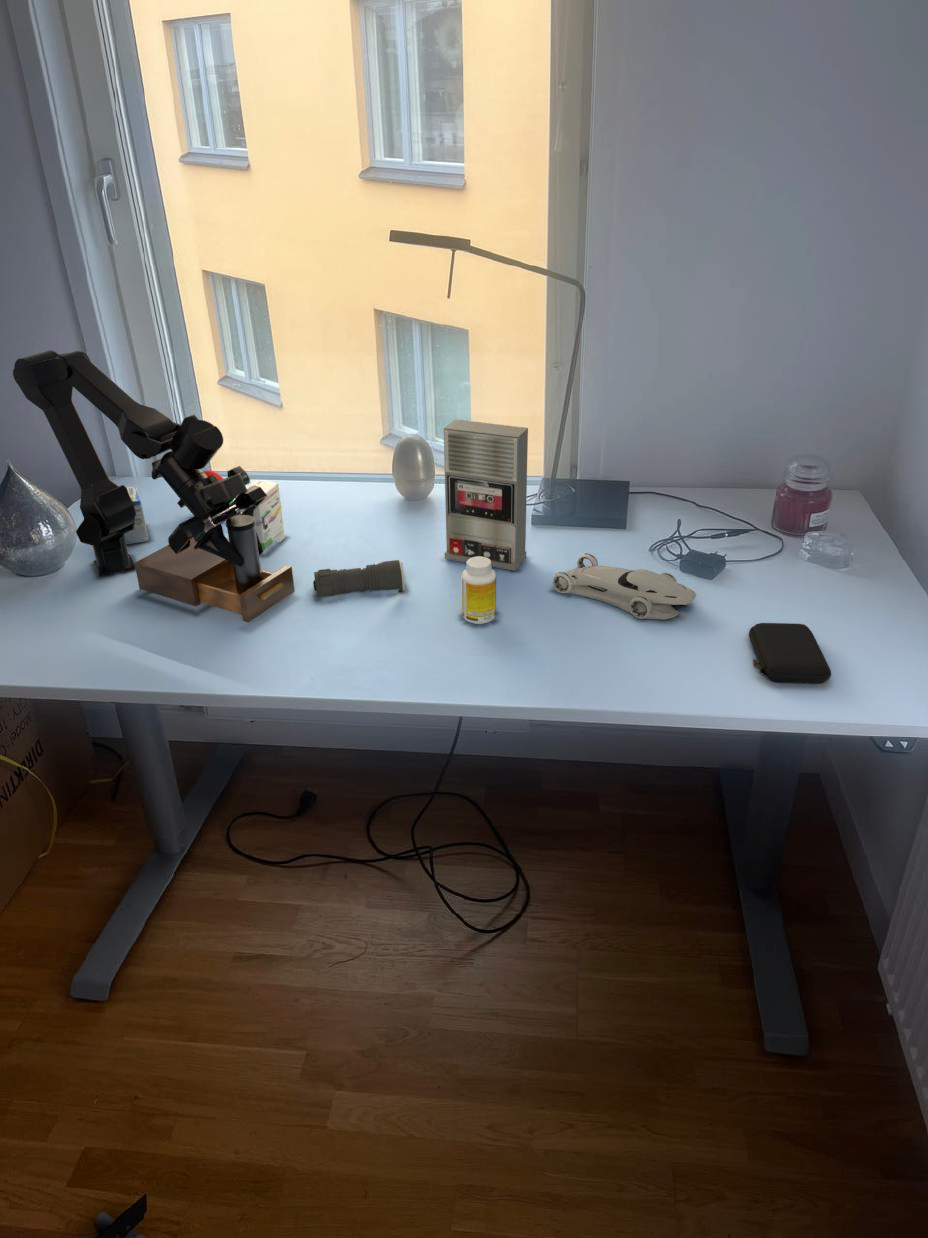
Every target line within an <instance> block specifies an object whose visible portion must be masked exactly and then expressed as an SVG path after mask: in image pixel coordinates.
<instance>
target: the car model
mask: <svg viewBox="0 0 928 1238" xmlns="http://www.w3.org/2000/svg"><path fill="white" fill-rule="evenodd" d="M585 560H588V561H590V563H591V565H587V566H586V565H585V564H584V561H585ZM598 561H599V560H598V559H597V557H596V556H595V555H594V554H592V553H589V552H586V553H583V554H580V556H579V557H578V559H577V562H576V563H577V567H576V568H575V569H572V570H570V571H569V572H567V571H559V572H557V573H555V575H553V577H552V587H553V588H554V590H556V592H558V593H561V594H569V595H575V596H580V597H584V598H589V599H592V600H596V601H599V602H603V603H606V604H609V605H612V606H614V607H617V608H619V609H621V610H623V611H625V612H626V613H628V614H630V615H632V616H634V618H636V619H640V620H647V619H648V620H662V621H667V620H672V619H673V618H675V617H677V616H679V615H680V612H679V611H678V610H676V607H688V606H689V605H690V603H692V602H694V600H696V597H697V593H696V592H695V590H693V589H691V588H690V587H687V586H686V585H683V584H681V583H678V581H677V578H676V577H675V576H674V575H673V574H672V573H668V572H663V573H660V574H659V573H657V572H654V571H652V570H648V569H643V568H640V569H634V570H632V569H628V568H624V567H615V566H608V565H599V562H598Z"/></svg>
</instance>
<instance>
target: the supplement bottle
mask: <svg viewBox="0 0 928 1238" xmlns="http://www.w3.org/2000/svg"><path fill="white" fill-rule="evenodd" d="M465 568H466V569H464V570H463V571H462V573H461V604H462V606H461V607H462V609H461V611H462V617H463V619H464V620H465V621H467V622H468V623H471V624H475V625H483V624H488V623H490V622H492V621H493V620H495V618H496V616H497V573H496V571H495V570H494V569H492V568H493V567H491V560H490V559H488V558H486V557H481V556H477V557H472V558H470V559H468V560H467V562H466V566H465Z"/></svg>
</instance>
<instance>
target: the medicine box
mask: <svg viewBox="0 0 928 1238" xmlns="http://www.w3.org/2000/svg"><path fill="white" fill-rule="evenodd" d="M126 488H127V490H128V493H129V496H130V498H131V499H132V501H133V502H134V504H135V506H134V508H135V511H136V516H135V522H134V530H132V531H129V532H127V533H125V534H124V536H125V540H126V545H133V544H139V543H145V542H148V541H149V534H148V528H147V525H146V519H145V514H144V507H143V503H142V501H141V498H140V495H139V491H138V488H137V487H136V486H129V487H126Z"/></svg>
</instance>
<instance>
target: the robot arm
mask: <svg viewBox="0 0 928 1238" xmlns="http://www.w3.org/2000/svg"><path fill="white" fill-rule="evenodd" d="M12 376H13V380H14V382H15V383H16V384H17V386H18V387H19V389H20V390H21V392H22V394H23V395H24V397H25V399H26V400H28V401H29V402H30V403H31V404H33V405H34V406H36V407H37V408H38V409H40V410H41V411H42V412H43V414H44V416H45V418H46V420H47V421H48V424H49V427H50V428H51V430H52V432H53V434H54V436H55V438H56V440H57V442H58V444H59V446H60V449H61V450H62V453H63V454H64V456H65V459H66V461H67V463H68V465H69V467H70V469H71V472H72V473H73V475H74V477H75V479H76V482H77V483H78V486H79V488H80V499H79V501H80V502H79V504H80V505H79V509H80V512H81V515H82V517H83V520H82V521H81V523H80V524H79V526H78V528H77V529H76V531H75V534H76V535H77V537H78V540H79V542H80V543H82V544H85V545H89V546H92V548H93V553H94V557H95V560H93V562H92V563H93V565H94V568H95V571H96V573H97V575H98V577H104V576H105V577H106V576H109V575H112V574H118V573H122V572H127V571H132V570H136V569H135V565H134V563H135V562H134V561H133V559H132V557H131V555H130V553H129V549H128V544H126V540H125V536H124V534H125V533H127V532H129V531H132V530H134V522H135V516H136V511H135V508H134V506H135V504H134V502H133V501H132V499H131V498H130V496H129V493H128V490H127V488H128V487H126V486H125V485H124V484H122V485H118V484H117V483H115V482H113V480H111V479H110V478H109V476H108V474H107V472H106V470H105V468H104V466H103V464H102V460H101V459H100V457H99V455H98V453H97V451H96V449H95V447H94V444H93V442H92V441H91V438H90V435H89V434H88V432H87V429H86V428H85V425H84V423H83V421H82V419H81V417H80V415H79V413H78V411H77V409H76V407H75V405H74V403H73V392H74V389H75V390H76V391H77V392H78V393H80V394H81V396H83V397H84V398H85V399H86V400H87V401H88V402H90V403H91V404H92V405H93V406H94V407H95V408H96V409H98V411H100V412H101V413H102V414H103V415H104V416H105V417H106V418H107V419H109V420H110V422H112V423H113V425H115V426H116V428H117V429H118V433H119V436H120V440H121V441H122V442H123V444H124V445H125V446H126V447H127V448H128V449H129V450H130V451H131V452H132V454H133V455H135V457H137V458H138V459H141V460H149V459H152V458H154V457H156V456H159V455H161V454H163V453H164V454H163V455H162V457H161V458H160V459H157V460H155V461H153V462H151V467H152V468H151V479H152V480H157V479H160V478H162V479H163V480H164V481H165V482H166V483H167V485H168V486H169V487H170V489H172V491H173V492H174V493H175V495H176V496H177V497H178V498H179V500H178V501H177V503H176V504H177V505H178V506H179V507H180V509H183V508H184V507H186V508H187V509H188V510H189V512H190V513H191V514H192V517H190V518H188V519H186V520H184V521H182V522H180V523H178V525H177V526H176V528H175V529H174V530H173V531H172V532H171V533H170V535H169V536H168V537H167V538H168V539H167V540H168V541H167V542H168V545H169V546H170V547H171V549H172V550H173V551H174V552H175V554H178V553H180V552H182V551H184V550H186V549H188V548H189V547H190V539H195V541H196V543H197V544H196V545H195V546H194V549H196V550H197V549H202V550H205V551H207V552H210V553H212V554H215V555H217V556H219V557H221V558H223V559H225V560H227V561H229V562H232V563H234V564H236V565H238V566H240V567H241V566H242V565H243V564H244V561H243V560H242V558H241V556H240V555H239V554H238V552H237V551H236V550H235V549H234V547H233V546H232V545H231V544H230V542H229V539H228V538H227V537H226V536H225V533H224V529H223V524H222V523H223V522H226V520H227V519H228V518H230V517H233V516H237V515H250V516H252V517H253V513H254V511H255V510H256V509H257V507H258V506H259V505H260V504H261V503H262V502H263V501H264V500H265V498H266V497H267V494H266V493H265V492H264V491H263V489H262V488H261V487H259V486H255V485H254V486H252V487H250V488H248V489H247V488H246V486H248V485H249V484H251V479H250V477H249V474H248V473H247V472H246V470H245V469H243V467H242V466H241V465H238V466H235V467H233V468H231V469H229V470H227V477H225V478H223V480H220V481H219V480H218V479H217V477H216V476H213V475H211V476H209V477H208V476H207V475H206V474H205V473H204V472H203V471H204V470H203V469H204V468H206V467H207V466H208V464H209V463H210V461H212V459H213V458H214V457H215V456H216V454H217V452H218V451H219V450H220V449H221V448H222V446H223V445H224V436H223V433H222V432H221V430H220V429H219V427H218V426H216V425H214V424H213V423H211V422H209V421H207V420H203V419H199V418H198V417H197V415H196V414H191V415H188V416H186V417H184V418H183V420H182V422H181V424H180V423H178V422H175V421H173V420H172V419H171V418H170V417H168V416H167V415H165V414H164V413H163V412H161V411H159V410H157V409H156V408H154V407H152V406H151V407H150V406H147V405H143V404H141V403H140V402H138V401H136V400H134V399H133V398H132V397H131V396H130V395H129V394H128V393H127V392H126V391H124V390H123V388H121V387H120V386H119V385H118V384H117V383H115V382H114V380H112V379H111V378H110V377H109V376H108V375H106V374H105V373H104V372H103V371H102V370H101V369H99V368H98V367H97V366H96V365H95V364H94V363H93V362H92V361H91V359H90V357H89V355H88V354H87V353H86V352H85V351H80V350H75V351H71V352H66V353H61V354H60V353H57V352H56V351H54V350H45V351H41V352H38V353H35V354H31V355H28V356H24V357H20V358H18V359H16V360H15V362H14V367H13V369H12ZM170 450H171V451H170ZM237 495H238V496H237ZM236 496H237V498H236ZM235 498H236V499H235ZM231 501H233V502H232V504H231V505H230V504H229V503H230V502H231ZM223 514H225V515H223ZM222 515H223V516H222ZM214 519H215V520H214ZM213 520H214V521H213ZM256 536H257V543H258V551H259V556H261V555H262V554H263V553H264V549H262V546H261V543H260V540H259V538H258V535H257V532H256Z"/></svg>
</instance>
